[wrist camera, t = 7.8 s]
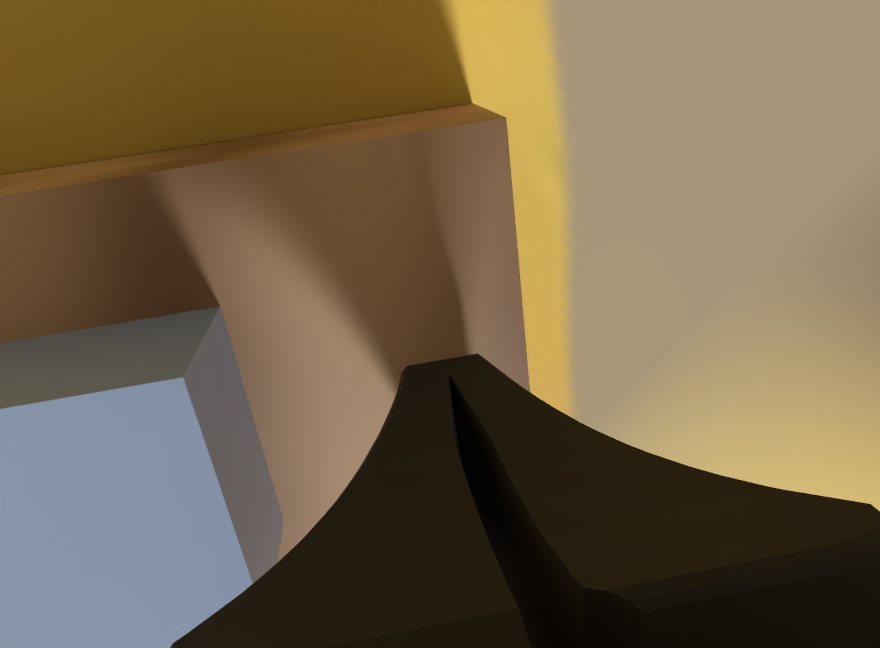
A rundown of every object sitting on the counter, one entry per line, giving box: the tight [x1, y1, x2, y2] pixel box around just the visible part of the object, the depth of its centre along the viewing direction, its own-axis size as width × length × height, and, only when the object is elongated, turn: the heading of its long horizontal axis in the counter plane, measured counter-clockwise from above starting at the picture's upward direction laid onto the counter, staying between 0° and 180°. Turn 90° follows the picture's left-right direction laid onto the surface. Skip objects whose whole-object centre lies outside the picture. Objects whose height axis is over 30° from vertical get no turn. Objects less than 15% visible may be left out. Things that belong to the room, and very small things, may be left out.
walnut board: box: [0, 103, 530, 562], centre depth 15 cm, size 12×20×3 cm, turn 8°
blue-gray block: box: [0, 306, 284, 648], centre depth 10 cm, size 4×4×2 cm
